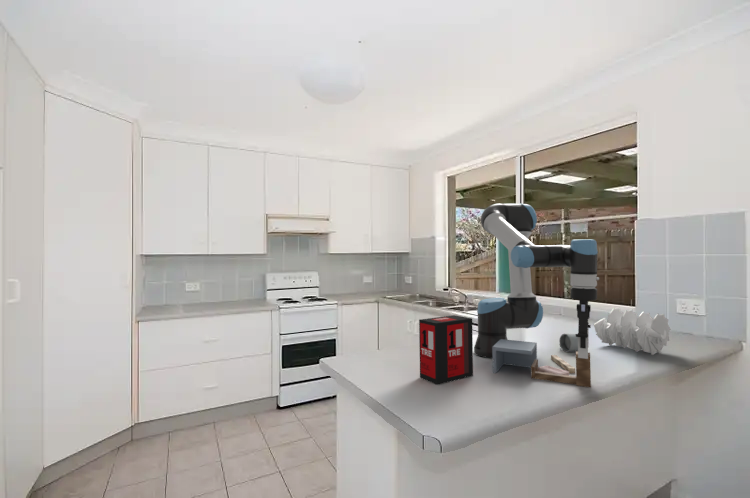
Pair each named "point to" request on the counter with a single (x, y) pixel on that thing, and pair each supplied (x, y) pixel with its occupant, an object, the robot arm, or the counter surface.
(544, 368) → the soap bar
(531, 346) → the grey storage bin
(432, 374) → the cleaning product box
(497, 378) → the counter surface
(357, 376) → the counter surface
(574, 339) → the ceramic mug
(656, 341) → the spiral staircase
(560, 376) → the brown wooden bent piece
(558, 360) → the stick
